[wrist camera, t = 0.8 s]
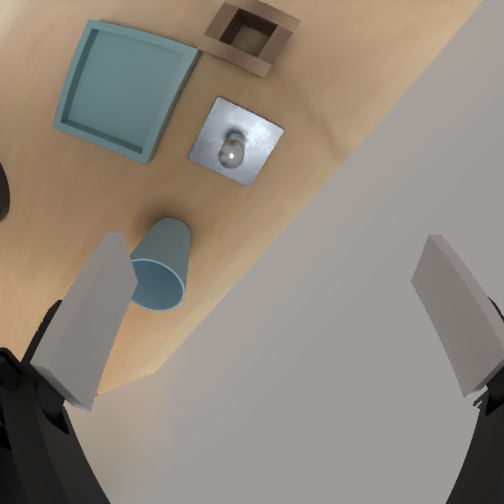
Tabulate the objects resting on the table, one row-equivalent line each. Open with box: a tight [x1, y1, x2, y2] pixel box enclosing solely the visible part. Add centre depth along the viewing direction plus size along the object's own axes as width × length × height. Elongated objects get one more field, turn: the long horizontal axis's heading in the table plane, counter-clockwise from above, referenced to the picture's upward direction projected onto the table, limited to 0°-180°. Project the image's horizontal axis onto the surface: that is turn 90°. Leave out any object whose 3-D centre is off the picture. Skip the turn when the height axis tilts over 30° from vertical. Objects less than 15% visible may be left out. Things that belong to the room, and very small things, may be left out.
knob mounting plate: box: [188, 97, 284, 188], centre depth 28 cm, size 8×8×6 cm
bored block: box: [197, 0, 301, 78], centre depth 20 cm, size 6×6×8 cm
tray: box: [53, 19, 202, 165], centre depth 24 cm, size 14×14×2 cm
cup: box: [130, 218, 191, 311], centre depth 33 cm, size 8×8×10 cm
